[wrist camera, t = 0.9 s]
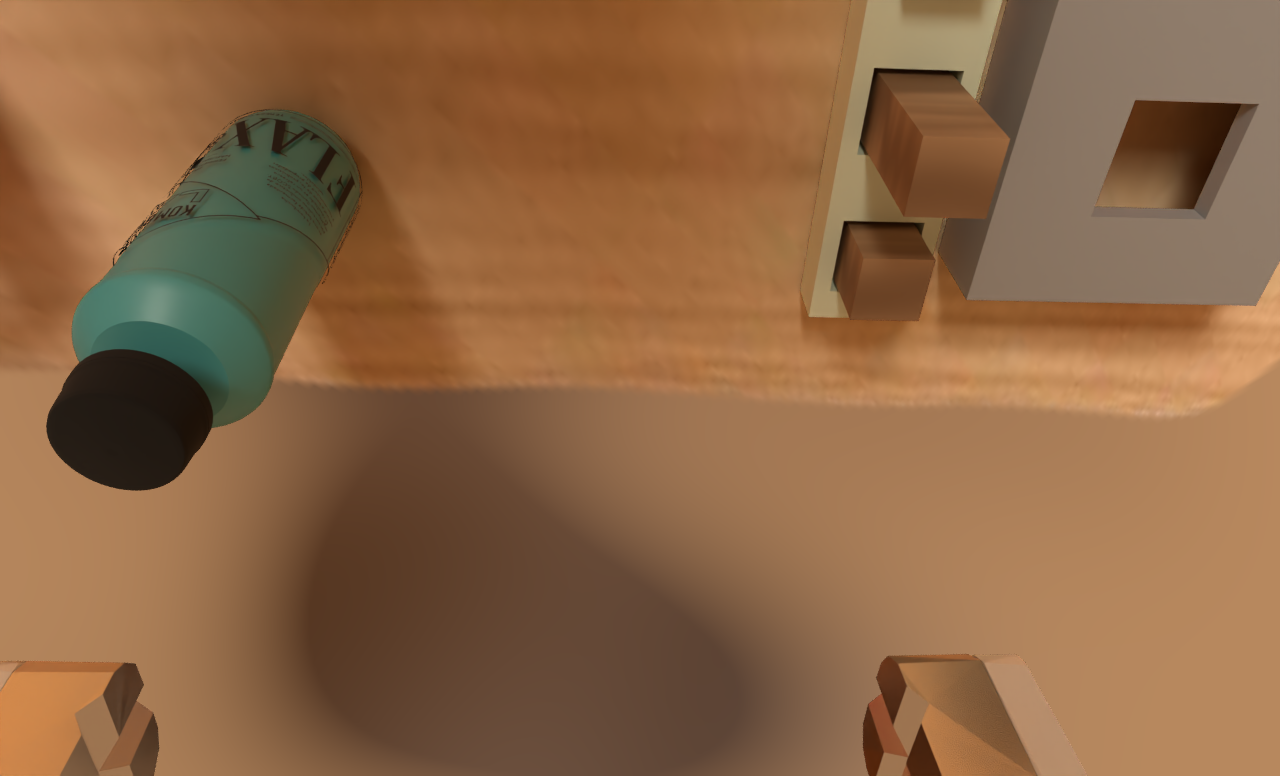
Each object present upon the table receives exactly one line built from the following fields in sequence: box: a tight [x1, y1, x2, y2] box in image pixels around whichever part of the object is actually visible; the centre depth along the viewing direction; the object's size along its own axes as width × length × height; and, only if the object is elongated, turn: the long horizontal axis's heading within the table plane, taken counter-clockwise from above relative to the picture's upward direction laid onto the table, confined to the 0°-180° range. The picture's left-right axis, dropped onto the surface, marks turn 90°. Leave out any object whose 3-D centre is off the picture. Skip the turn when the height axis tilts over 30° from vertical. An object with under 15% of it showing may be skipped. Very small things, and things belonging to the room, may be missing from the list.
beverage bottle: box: [46, 110, 362, 490], centre depth 34 cm, size 6×7×20 cm
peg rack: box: [800, 0, 1002, 318], centre depth 40 cm, size 21×5×2 cm, turn 177°
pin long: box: [860, 68, 1010, 219], centre depth 37 cm, size 3×3×9 cm
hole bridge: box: [938, 0, 1280, 306], centre depth 40 cm, size 14×14×4 cm
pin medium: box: [833, 221, 935, 321], centre depth 43 cm, size 3×3×6 cm
